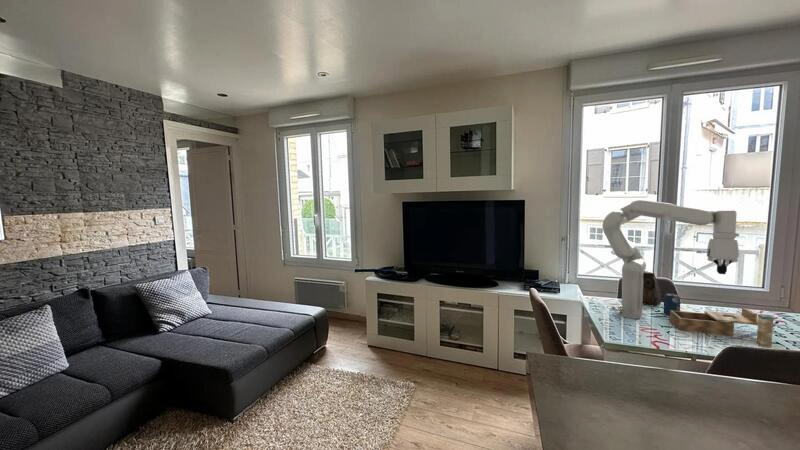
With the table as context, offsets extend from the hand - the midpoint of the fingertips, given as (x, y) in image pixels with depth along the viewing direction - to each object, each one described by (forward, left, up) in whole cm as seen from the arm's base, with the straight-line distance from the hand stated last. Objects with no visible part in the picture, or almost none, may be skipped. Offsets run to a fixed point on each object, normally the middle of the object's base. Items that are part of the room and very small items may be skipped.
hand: (721, 273), depth 153 cm
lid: (+7, 0, -22) cm, 23 cm away
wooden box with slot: (-7, 0, -29) cm, 30 cm away
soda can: (-12, +19, -29) cm, 37 cm away
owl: (-15, +41, -29) cm, 53 cm away
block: (+10, -13, -29) cm, 33 cm away
